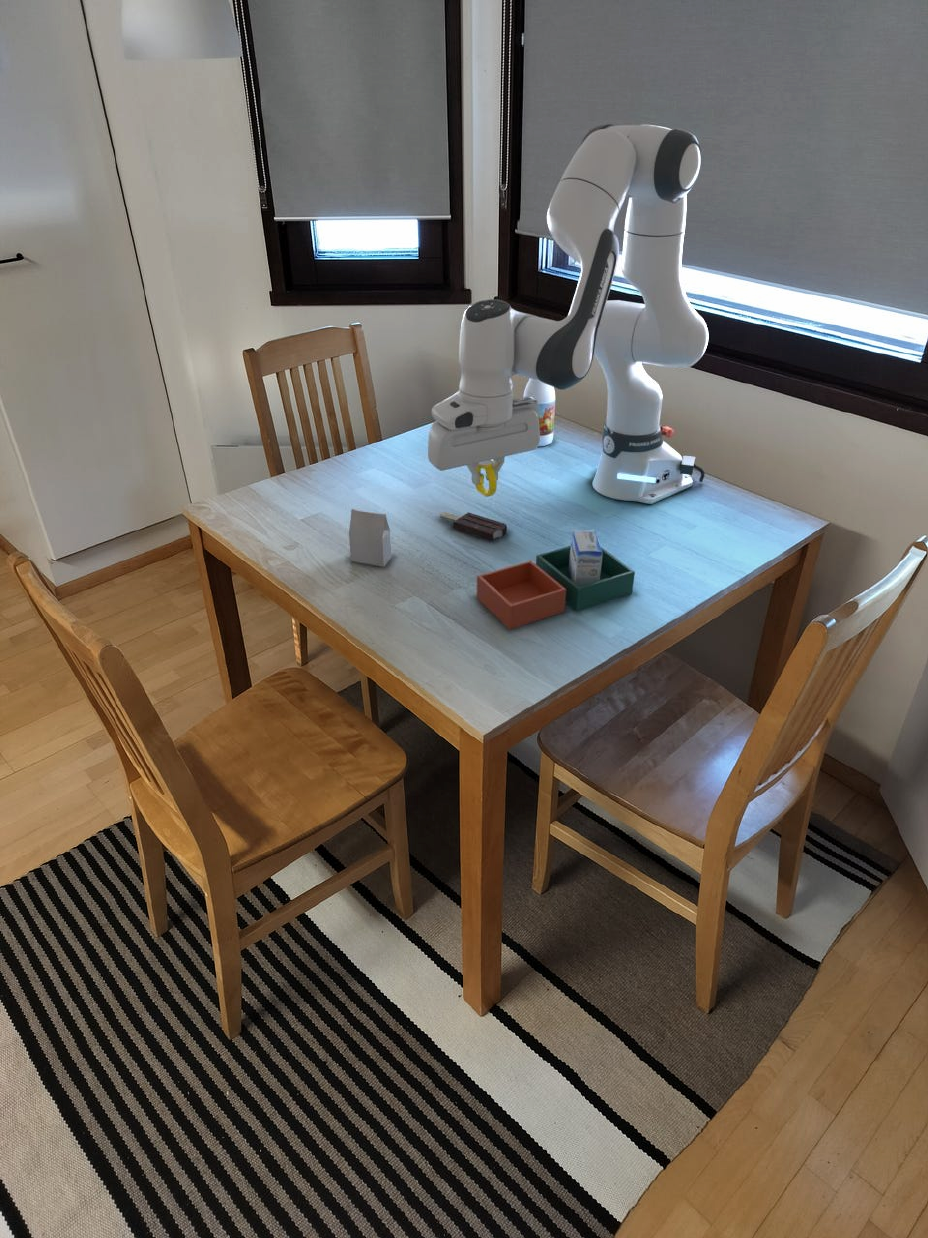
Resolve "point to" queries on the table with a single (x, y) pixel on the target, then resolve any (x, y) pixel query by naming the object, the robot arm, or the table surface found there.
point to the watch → (491, 476)
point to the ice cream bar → (477, 525)
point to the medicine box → (585, 558)
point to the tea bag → (369, 538)
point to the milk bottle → (543, 408)
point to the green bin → (611, 585)
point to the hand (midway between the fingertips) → (484, 481)
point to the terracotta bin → (521, 594)
